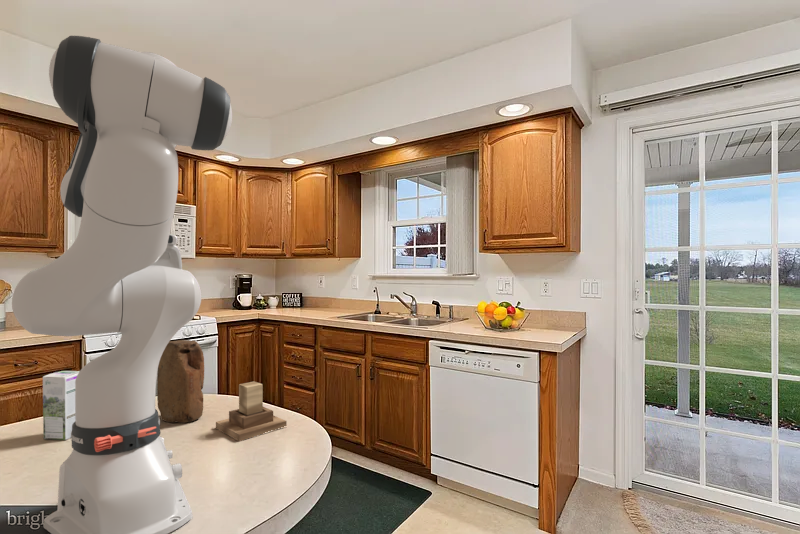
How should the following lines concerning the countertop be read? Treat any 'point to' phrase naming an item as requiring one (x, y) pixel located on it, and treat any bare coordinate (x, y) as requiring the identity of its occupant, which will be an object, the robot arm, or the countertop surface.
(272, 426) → the brown wooden socket base
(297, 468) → the countertop surface
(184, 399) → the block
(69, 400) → the syrup box
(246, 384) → the peg
